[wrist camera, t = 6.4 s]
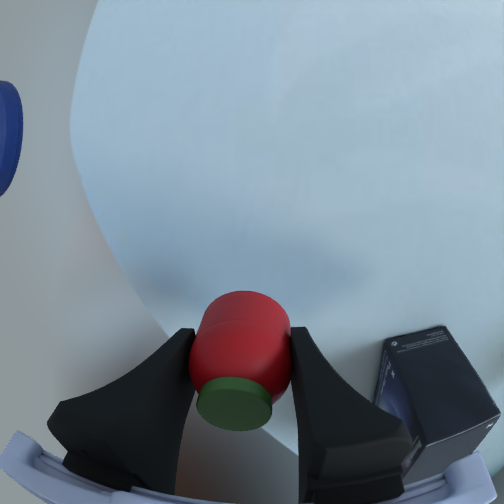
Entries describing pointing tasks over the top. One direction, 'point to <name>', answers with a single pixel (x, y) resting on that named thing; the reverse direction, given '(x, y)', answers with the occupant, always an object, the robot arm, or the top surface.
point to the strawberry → (241, 360)
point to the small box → (434, 400)
